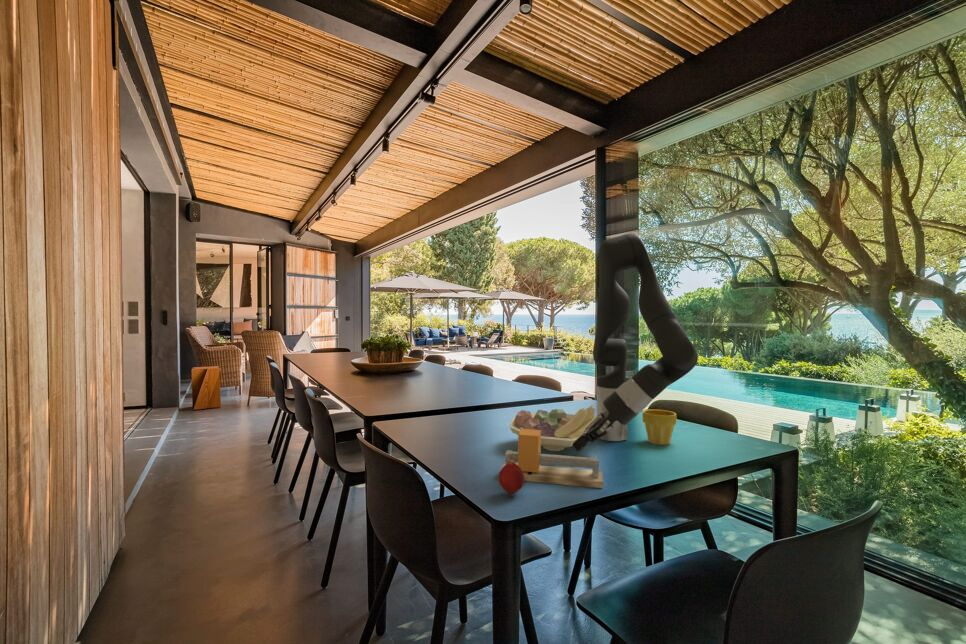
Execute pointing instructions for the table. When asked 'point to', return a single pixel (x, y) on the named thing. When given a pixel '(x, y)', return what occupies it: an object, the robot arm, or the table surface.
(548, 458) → the pipe
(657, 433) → the plant pot
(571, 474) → the board
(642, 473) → the table surface
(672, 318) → the robot arm
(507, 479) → the onion
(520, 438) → the upright wooden block
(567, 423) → the dish with food
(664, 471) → the table surface
